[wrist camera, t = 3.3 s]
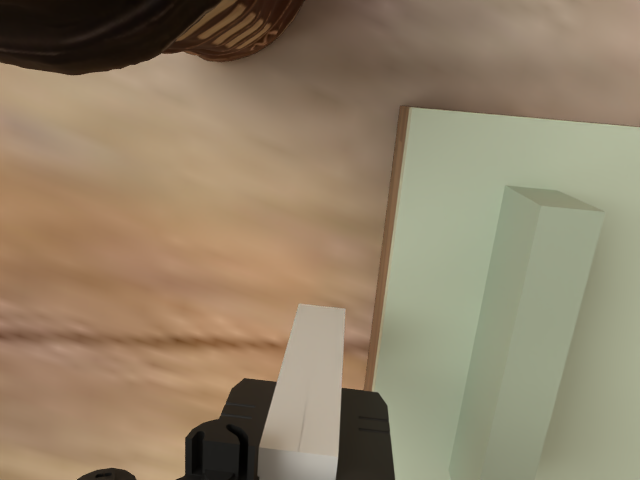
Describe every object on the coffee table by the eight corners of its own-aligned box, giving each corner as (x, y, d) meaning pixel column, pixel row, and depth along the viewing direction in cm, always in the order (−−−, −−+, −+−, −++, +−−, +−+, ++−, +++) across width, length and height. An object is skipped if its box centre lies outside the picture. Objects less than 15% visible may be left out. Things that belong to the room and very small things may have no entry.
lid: (358, 487, 20) (359, 576, 16) (409, 107, 15) (426, 109, 12) (707, 530, 19) (791, 632, 15) (865, 146, 15) (1035, 162, 11)
